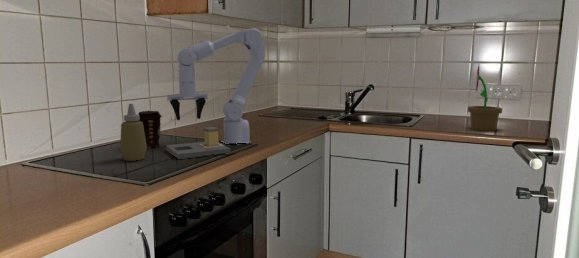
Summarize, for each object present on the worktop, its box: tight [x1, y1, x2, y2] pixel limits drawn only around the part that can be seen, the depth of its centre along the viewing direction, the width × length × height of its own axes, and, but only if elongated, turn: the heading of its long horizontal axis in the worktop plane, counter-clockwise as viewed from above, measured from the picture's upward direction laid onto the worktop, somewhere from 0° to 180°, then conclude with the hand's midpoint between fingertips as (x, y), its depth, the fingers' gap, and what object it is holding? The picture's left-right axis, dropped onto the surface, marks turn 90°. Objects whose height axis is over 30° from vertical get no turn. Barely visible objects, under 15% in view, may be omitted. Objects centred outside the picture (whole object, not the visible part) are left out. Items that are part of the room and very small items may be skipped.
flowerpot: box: [467, 64, 503, 132], centre depth 191 cm, size 14×14×30 cm
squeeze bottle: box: [119, 103, 148, 162], centre depth 133 cm, size 8×8×18 cm
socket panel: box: [165, 141, 232, 159], centre depth 145 cm, size 18×16×2 cm
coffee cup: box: [137, 110, 163, 149], centre depth 153 cm, size 9×8×13 cm
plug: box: [203, 126, 219, 147], centre depth 147 cm, size 4×4×8 cm
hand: (188, 119), depth 155 cm, fingers open, 7 cm apart
